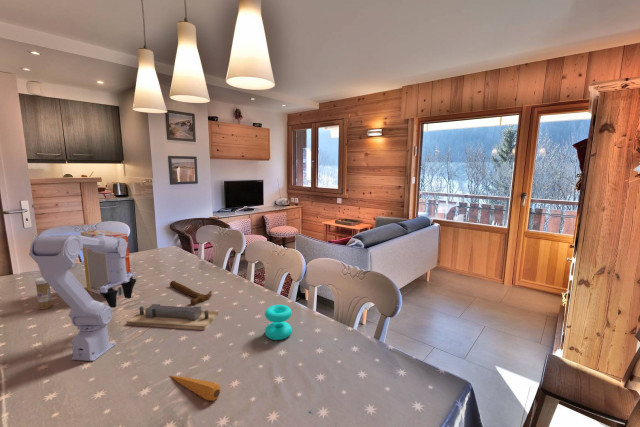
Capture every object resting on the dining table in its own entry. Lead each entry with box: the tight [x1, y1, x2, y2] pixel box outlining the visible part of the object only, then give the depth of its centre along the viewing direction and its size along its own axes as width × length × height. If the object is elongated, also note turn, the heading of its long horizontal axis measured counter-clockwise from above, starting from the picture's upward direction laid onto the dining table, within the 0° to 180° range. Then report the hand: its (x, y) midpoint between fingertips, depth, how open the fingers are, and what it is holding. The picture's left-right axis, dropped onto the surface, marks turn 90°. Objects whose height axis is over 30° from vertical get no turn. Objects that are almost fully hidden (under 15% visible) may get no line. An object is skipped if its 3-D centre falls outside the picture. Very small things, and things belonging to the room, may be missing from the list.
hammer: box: [169, 280, 213, 306], centre depth 147 cm, size 12×3×30 cm
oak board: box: [126, 306, 219, 331], centre depth 120 cm, size 12×32×4 cm, turn 84°
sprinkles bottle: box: [34, 276, 53, 310], centre depth 129 cm, size 5×5×14 cm
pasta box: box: [80, 229, 132, 300], centre depth 145 cm, size 23×8×30 cm, turn 65°
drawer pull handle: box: [144, 303, 202, 321], centre depth 120 cm, size 5×21×4 cm, turn 85°
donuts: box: [264, 304, 293, 341], centre depth 110 cm, size 10×10×10 cm
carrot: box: [169, 375, 222, 402], centre depth 83 cm, size 20×4×4 cm, turn 62°
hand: (120, 302), depth 113 cm, fingers open, 7 cm apart
